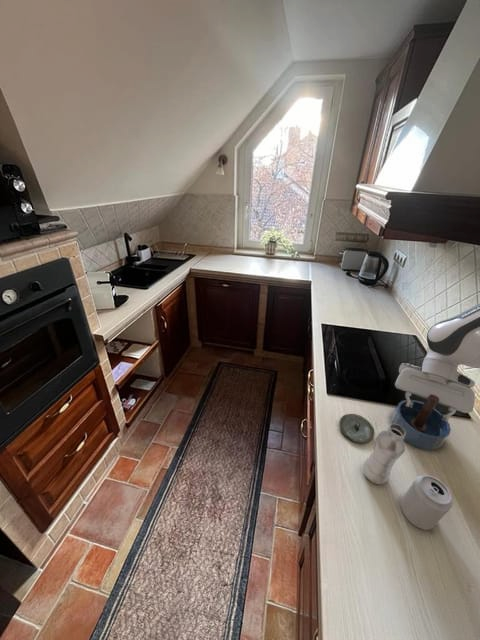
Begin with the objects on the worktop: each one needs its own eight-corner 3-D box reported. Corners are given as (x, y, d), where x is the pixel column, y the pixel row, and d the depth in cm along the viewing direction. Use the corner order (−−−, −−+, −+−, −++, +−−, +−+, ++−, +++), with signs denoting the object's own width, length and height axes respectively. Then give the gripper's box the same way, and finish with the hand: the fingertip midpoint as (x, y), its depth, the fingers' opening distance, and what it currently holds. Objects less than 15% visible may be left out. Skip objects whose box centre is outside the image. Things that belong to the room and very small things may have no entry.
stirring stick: (419, 424, 86) (438, 393, 78) (426, 436, 82) (446, 404, 74) (405, 422, 87) (422, 390, 79) (410, 434, 83) (429, 402, 75)
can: (440, 523, 62) (463, 499, 56) (419, 537, 60) (441, 513, 54) (412, 492, 68) (431, 467, 62) (392, 503, 66) (409, 478, 60)
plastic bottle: (357, 475, 72) (378, 430, 61) (367, 458, 76) (388, 414, 66) (380, 493, 68) (407, 448, 58) (389, 475, 72) (416, 430, 62)
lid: (372, 430, 86) (376, 417, 85) (373, 449, 77) (377, 436, 76) (339, 419, 90) (342, 406, 89) (336, 436, 81) (340, 422, 80)
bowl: (428, 415, 90) (436, 403, 87) (450, 454, 78) (460, 441, 74) (385, 409, 92) (390, 396, 89) (399, 446, 79) (407, 433, 76)
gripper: (403, 359, 84) (390, 399, 82) (481, 384, 75) (470, 430, 72) (399, 362, 89) (387, 400, 87) (472, 386, 80) (461, 428, 78)
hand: (425, 413), depth 80 cm, fingers open, 8 cm apart
